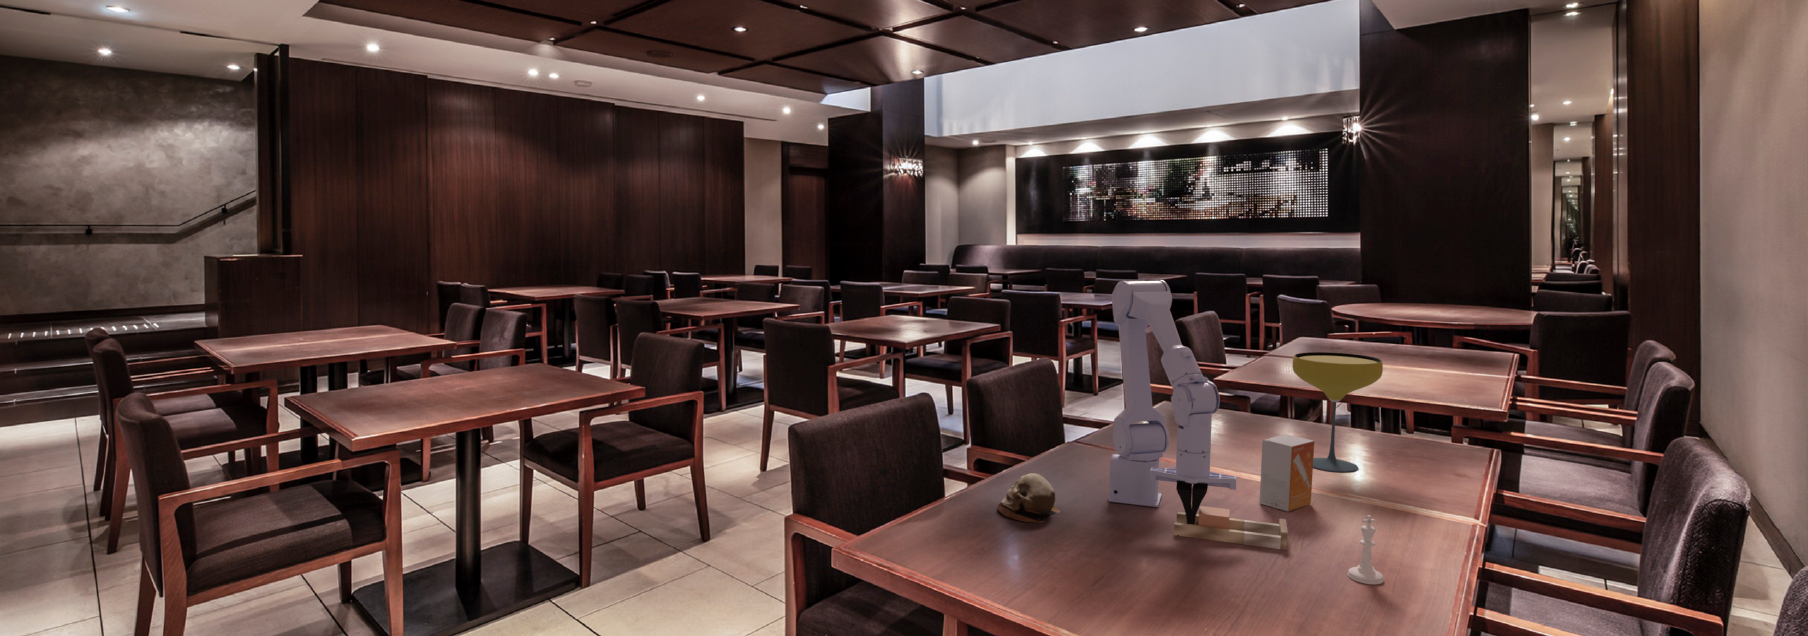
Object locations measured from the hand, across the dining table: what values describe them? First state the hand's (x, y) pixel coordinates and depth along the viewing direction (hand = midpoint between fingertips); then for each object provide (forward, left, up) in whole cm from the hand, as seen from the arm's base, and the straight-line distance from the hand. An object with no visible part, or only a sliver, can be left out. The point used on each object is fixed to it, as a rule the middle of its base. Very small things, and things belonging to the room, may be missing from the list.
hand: (1190, 522), depth 147 cm
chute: (+6, 0, -1) cm, 6 cm away
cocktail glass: (+27, +55, -2) cm, 61 cm away
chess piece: (+26, -11, -2) cm, 29 cm away
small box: (+16, +22, -2) cm, 27 cm away
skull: (-30, -1, -2) cm, 30 cm away
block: (+4, 0, -1) cm, 4 cm away
